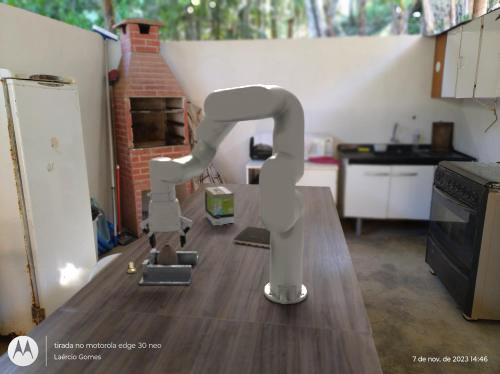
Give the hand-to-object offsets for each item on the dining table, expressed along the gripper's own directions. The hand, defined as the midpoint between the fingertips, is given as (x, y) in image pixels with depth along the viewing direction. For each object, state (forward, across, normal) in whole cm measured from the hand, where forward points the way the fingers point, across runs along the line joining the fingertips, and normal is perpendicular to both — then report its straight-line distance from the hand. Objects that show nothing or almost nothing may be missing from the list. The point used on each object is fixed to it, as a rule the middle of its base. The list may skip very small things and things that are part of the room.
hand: (168, 246), depth 124 cm
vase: (+9, -1, 0) cm, 9 cm away
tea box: (+9, +12, +52) cm, 54 cm away
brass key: (+8, -14, +1) cm, 16 cm away
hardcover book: (+10, +33, +28) cm, 45 cm away
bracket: (+9, +1, 0) cm, 9 cm away
